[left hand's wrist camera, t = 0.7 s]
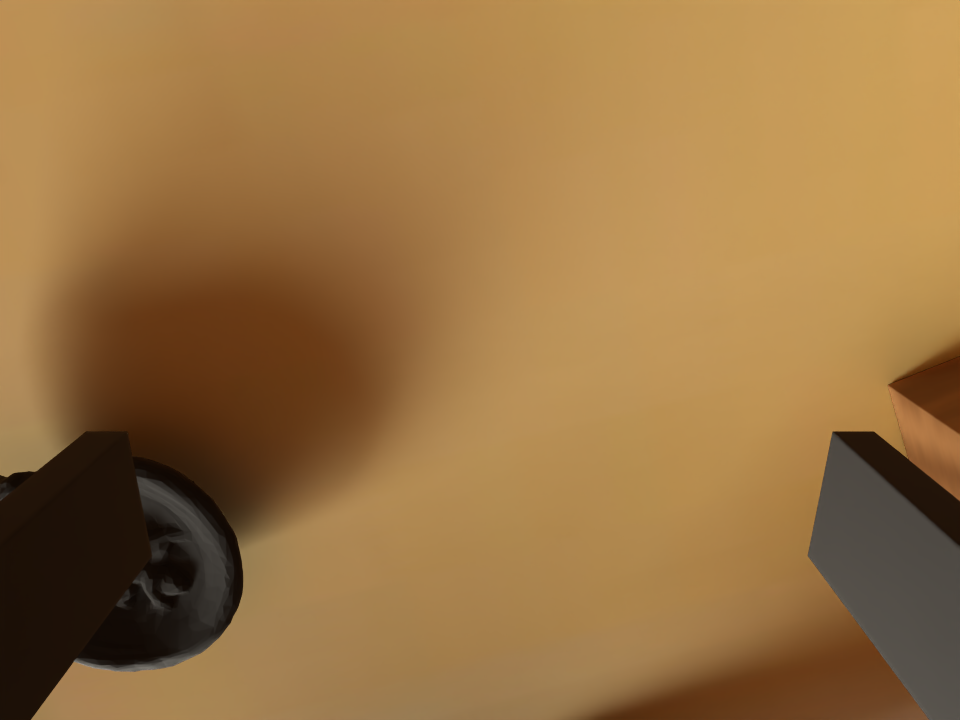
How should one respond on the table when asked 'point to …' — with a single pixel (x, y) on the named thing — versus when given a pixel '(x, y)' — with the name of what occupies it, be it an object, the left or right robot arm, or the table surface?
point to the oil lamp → (168, 578)
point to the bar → (932, 421)
